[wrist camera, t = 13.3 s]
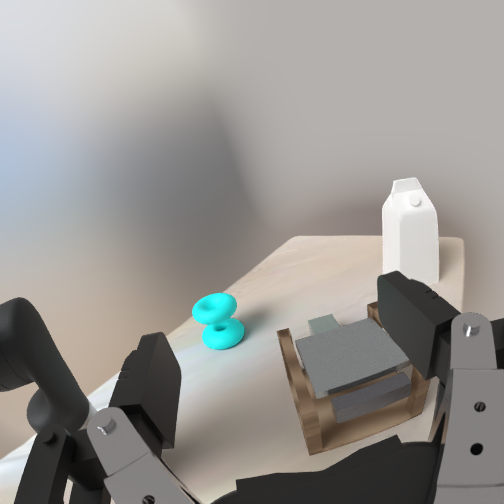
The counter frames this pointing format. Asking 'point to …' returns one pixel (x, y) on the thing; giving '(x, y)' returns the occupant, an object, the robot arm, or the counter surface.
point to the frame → (320, 410)
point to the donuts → (218, 320)
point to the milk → (410, 233)
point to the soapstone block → (322, 324)
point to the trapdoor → (355, 368)
